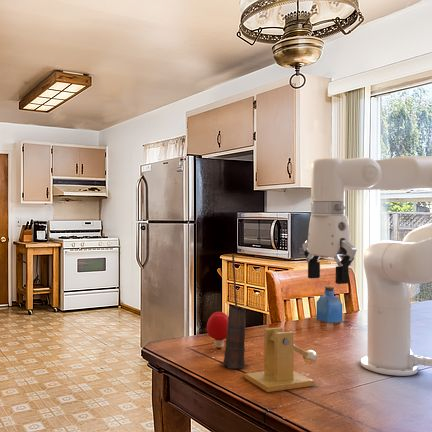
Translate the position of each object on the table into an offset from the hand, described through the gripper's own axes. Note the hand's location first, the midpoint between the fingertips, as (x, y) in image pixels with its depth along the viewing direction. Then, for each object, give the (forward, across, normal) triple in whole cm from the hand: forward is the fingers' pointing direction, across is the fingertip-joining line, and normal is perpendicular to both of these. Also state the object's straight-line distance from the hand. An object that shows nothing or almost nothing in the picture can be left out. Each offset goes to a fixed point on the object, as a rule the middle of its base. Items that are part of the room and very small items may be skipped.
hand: (327, 280), depth 114 cm
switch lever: (+16, -2, +11) cm, 20 cm away
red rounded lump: (+22, +27, +15) cm, 38 cm away
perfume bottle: (+22, +46, -40) cm, 65 cm away
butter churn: (+22, +11, +18) cm, 31 cm away
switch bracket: (+22, -2, +15) cm, 27 cm away
